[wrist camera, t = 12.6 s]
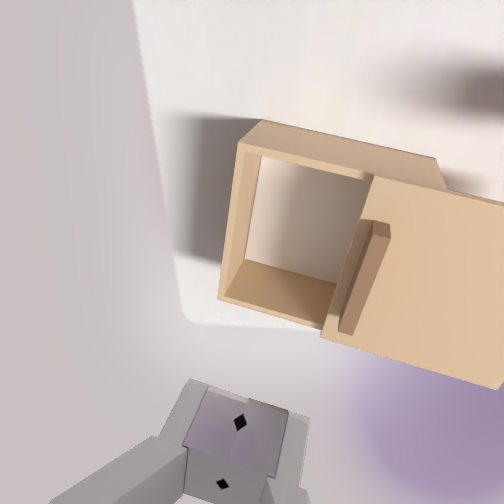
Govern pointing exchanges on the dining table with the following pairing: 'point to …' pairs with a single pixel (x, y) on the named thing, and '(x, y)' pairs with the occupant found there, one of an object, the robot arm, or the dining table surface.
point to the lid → (425, 281)
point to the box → (300, 215)
